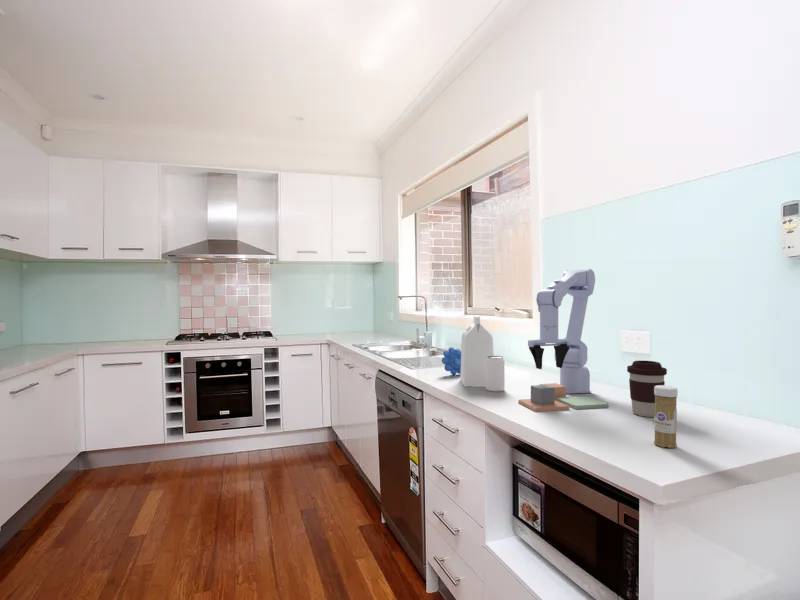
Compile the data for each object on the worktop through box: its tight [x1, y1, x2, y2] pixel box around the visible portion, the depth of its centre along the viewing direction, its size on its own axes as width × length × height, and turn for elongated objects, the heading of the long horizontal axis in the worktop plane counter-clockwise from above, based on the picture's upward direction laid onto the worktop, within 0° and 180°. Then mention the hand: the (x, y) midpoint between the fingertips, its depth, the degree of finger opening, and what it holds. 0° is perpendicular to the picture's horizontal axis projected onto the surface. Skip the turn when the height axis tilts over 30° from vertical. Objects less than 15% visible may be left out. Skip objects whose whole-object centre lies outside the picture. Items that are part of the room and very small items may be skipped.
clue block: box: [539, 382, 567, 400], centre depth 151 cm, size 6×6×4 cm
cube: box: [530, 383, 555, 405], centre depth 140 cm, size 5×5×5 cm
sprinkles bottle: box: [653, 384, 678, 449], centre depth 103 cm, size 5×5×13 cm
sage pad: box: [556, 395, 609, 410], centre depth 142 cm, size 11×11×1 cm
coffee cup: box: [626, 360, 668, 418], centre depth 130 cm, size 10×10×15 cm
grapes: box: [441, 346, 461, 376], centre depth 193 cm, size 12×7×12 cm, turn 113°
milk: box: [460, 315, 495, 388], centre depth 176 cm, size 12×12×26 cm
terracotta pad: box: [517, 398, 570, 413], centre depth 140 cm, size 11×11×1 cm
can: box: [485, 355, 506, 393], centre depth 163 cm, size 6×6×12 cm
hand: (549, 368), depth 148 cm, fingers open, 7 cm apart
